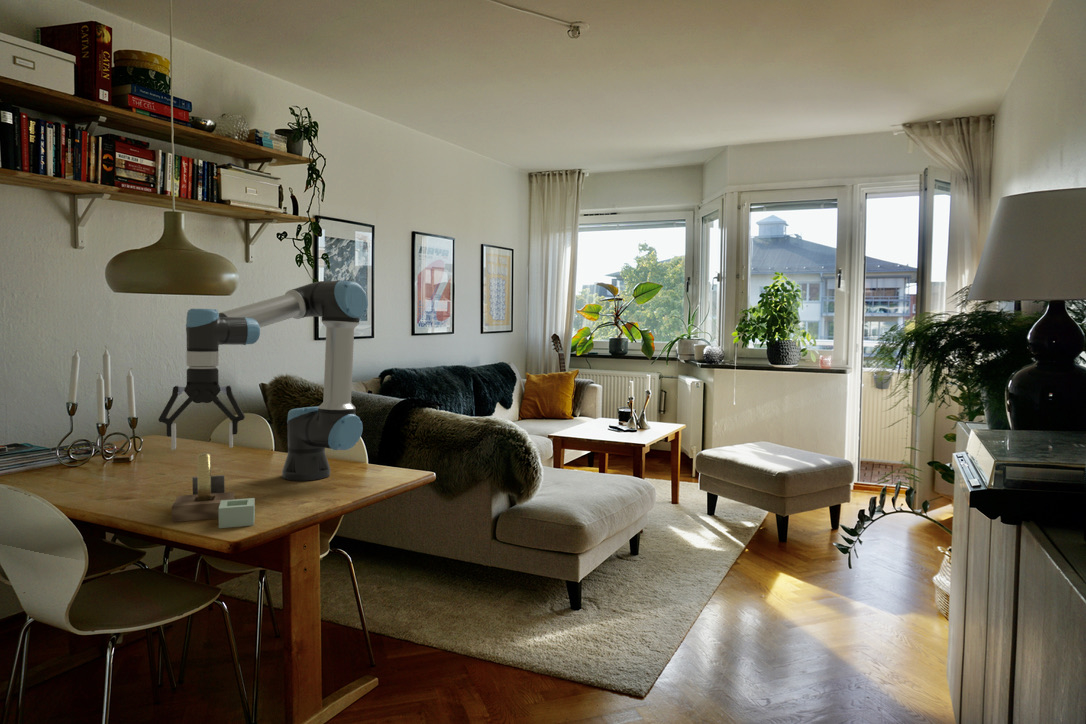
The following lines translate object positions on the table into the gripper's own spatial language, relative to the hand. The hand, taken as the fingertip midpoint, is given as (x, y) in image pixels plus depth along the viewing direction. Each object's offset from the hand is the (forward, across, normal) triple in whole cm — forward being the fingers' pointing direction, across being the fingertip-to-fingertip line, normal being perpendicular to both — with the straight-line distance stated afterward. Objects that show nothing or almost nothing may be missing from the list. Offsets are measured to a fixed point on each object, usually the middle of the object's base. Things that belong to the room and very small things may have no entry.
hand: (202, 447), depth 181 cm
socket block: (+18, 0, 0) cm, 18 cm away
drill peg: (+18, 0, 0) cm, 18 cm away
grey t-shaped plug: (+17, 0, -7) cm, 19 cm away
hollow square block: (+18, -9, +11) cm, 23 cm away
